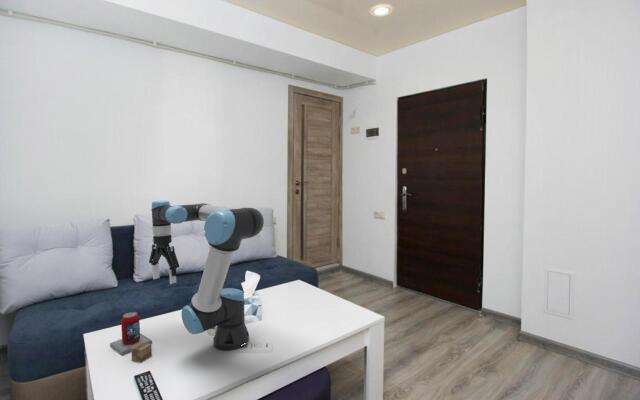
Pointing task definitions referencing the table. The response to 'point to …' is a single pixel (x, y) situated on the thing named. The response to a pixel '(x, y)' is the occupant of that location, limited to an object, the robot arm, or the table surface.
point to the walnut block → (141, 352)
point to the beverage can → (130, 328)
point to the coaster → (128, 345)
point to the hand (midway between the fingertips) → (164, 280)
